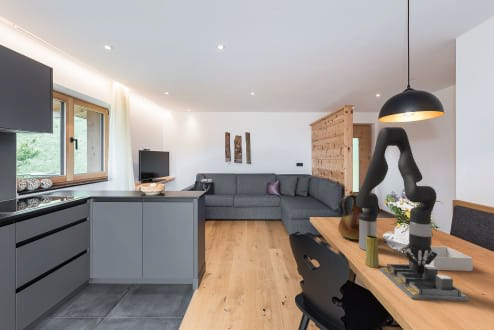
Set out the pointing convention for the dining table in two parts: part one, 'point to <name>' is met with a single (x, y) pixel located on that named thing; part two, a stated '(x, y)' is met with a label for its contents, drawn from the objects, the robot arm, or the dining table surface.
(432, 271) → the block
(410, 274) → the panel
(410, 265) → the breaker far
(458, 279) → the dining table surface
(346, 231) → the ceramic pitcher
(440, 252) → the frame
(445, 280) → the breaker near
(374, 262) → the vase
